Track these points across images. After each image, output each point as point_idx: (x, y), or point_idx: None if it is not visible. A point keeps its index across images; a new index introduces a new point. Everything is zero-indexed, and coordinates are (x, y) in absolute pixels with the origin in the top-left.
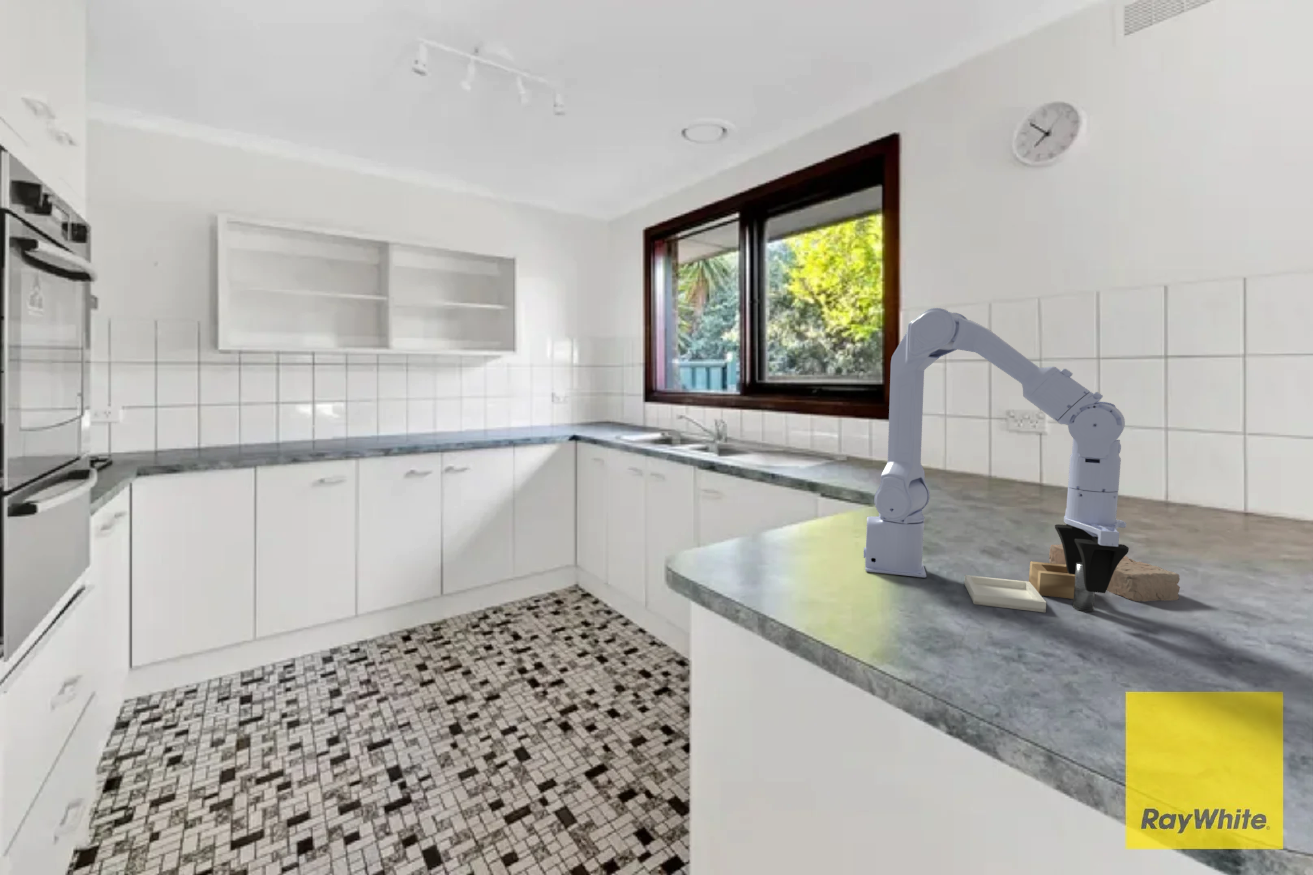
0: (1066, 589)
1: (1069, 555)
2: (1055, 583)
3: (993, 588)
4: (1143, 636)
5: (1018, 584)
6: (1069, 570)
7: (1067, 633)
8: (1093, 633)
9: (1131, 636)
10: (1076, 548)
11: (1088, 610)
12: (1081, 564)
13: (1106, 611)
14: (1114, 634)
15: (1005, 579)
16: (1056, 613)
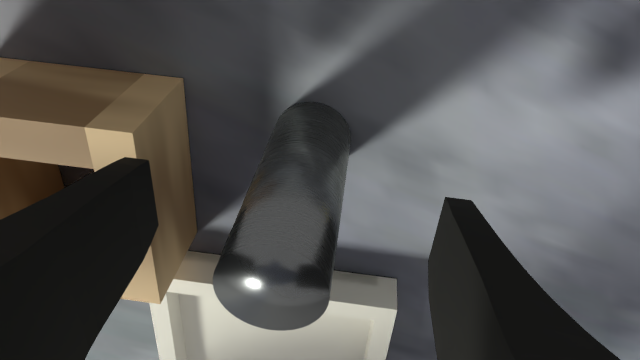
0: (174, 171)
1: (103, 309)
2: (170, 224)
3: (221, 353)
4: (636, 31)
5: (172, 299)
6: (149, 238)
7: (594, 289)
8: (595, 214)
9: (633, 86)
10: (61, 324)
11: (350, 137)
12: (275, 312)
13: (316, 48)
14: (607, 145)
15: (159, 335)
16: (395, 248)
